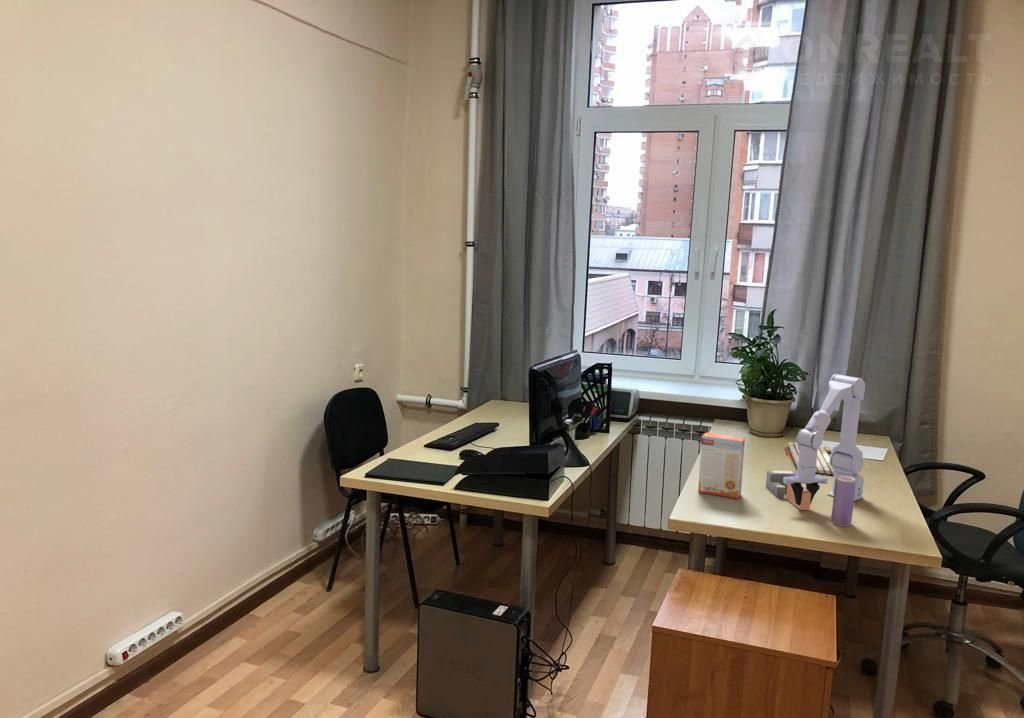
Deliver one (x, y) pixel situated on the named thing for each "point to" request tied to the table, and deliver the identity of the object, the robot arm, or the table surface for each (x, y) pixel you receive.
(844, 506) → the beverage can
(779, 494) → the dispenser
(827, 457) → the mechanical keyboard
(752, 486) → the table surface
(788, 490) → the salmon long block
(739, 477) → the cracker box
